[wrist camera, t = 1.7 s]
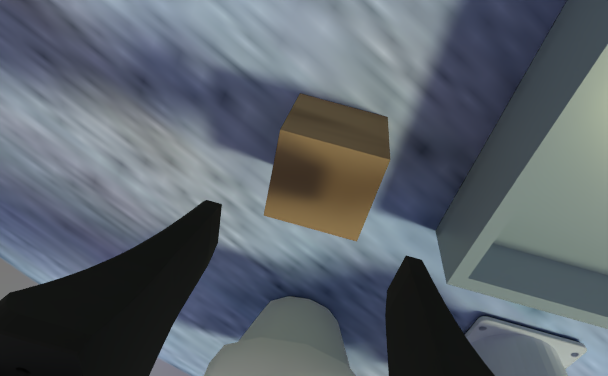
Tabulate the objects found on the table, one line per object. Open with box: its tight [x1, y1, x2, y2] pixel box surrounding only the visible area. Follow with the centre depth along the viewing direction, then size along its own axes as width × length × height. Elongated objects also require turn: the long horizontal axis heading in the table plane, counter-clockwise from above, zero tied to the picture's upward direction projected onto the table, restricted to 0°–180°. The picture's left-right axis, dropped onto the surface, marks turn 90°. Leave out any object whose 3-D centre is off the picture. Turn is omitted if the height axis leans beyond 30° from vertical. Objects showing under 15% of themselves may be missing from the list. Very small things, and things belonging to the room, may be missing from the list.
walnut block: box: [264, 93, 390, 241], centre depth 19 cm, size 5×5×5 cm
